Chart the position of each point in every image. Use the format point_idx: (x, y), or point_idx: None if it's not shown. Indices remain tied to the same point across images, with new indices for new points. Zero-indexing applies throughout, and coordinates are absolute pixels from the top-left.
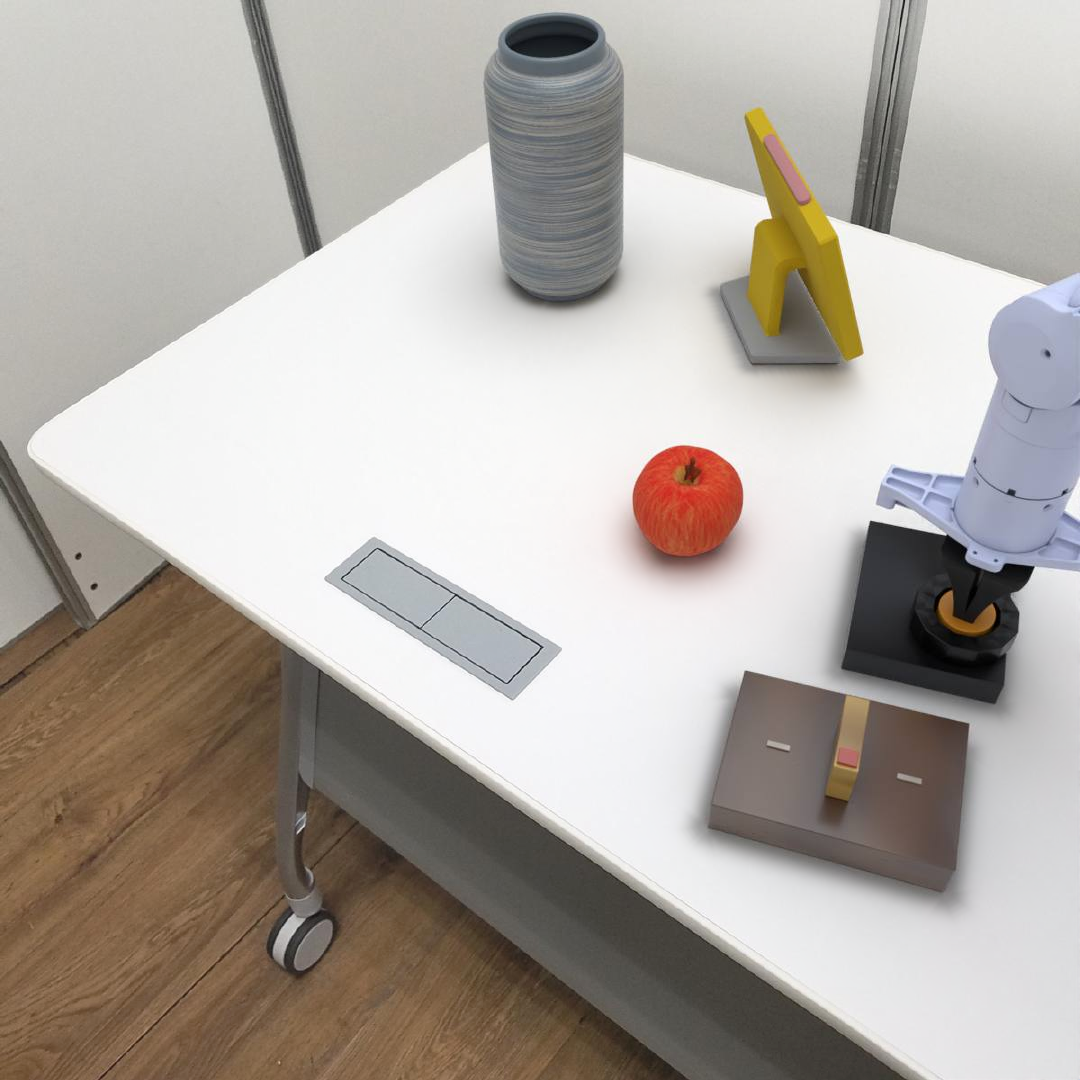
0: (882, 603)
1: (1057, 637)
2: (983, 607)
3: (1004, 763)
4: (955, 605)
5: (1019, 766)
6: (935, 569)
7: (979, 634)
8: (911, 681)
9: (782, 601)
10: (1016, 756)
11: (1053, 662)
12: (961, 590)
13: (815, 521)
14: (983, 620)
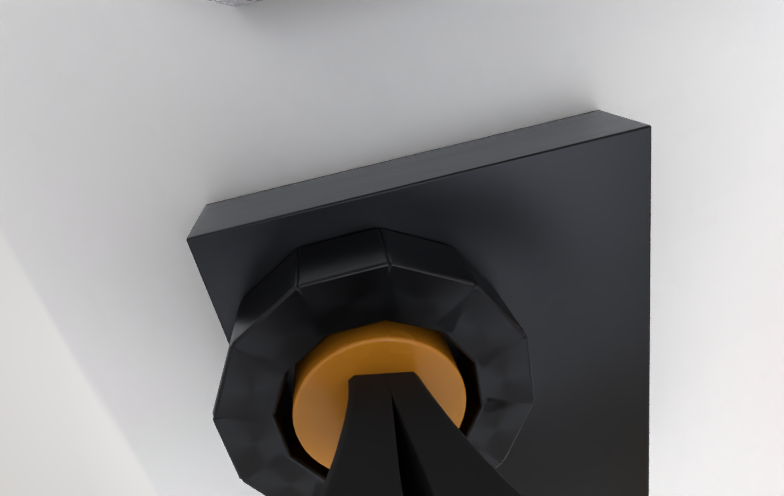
0: (582, 323)
1: (162, 445)
2: (345, 454)
3: (93, 22)
4: (436, 409)
5: (51, 34)
6: None
7: (316, 354)
8: (425, 156)
9: (759, 229)
10: (76, 66)
11: (138, 385)
12: (467, 488)
13: (712, 444)
14: (324, 403)
